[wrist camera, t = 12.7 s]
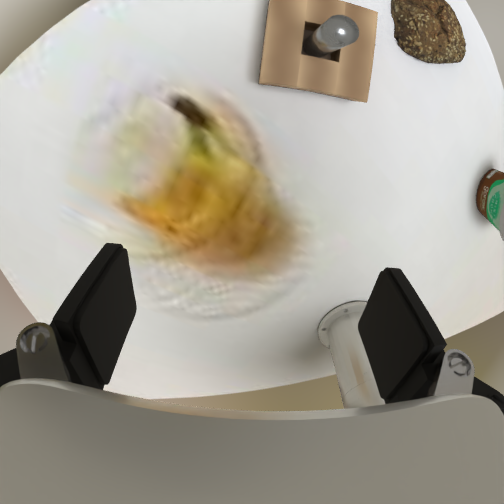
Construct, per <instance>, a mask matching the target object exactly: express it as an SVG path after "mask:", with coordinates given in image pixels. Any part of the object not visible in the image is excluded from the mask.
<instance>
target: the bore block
mask: <svg viewBox="0 0 504 504" xmlns="http://www.w3.org/2000/svg"><path fill="white" fill-rule="evenodd" d="M333 15H345V16H347V17H349V18H351V19H352V20H353V21H354V22H355V23H356V24H357V26H358V28H359V37H358V39H357V40H356V41H355V42H354V43H352V44H350V45H347V46H345V47H343V48H341V49H338V50H336V51H334V52H332V53H330V54H327V55H325V56H323V57H321V58H318V57H313V56H308V55H307V54H306V53H305V52H304V49H303V43H304V41H305V40H306V39H307V38H308V37H309V36H310V35H311V34H312V33H313V32H314V31H315V30H316V29H317V28H319V27H320V26H321V25H322V24H323V23H324V22H325V21H326V20H328V19H329V18H330V17H331V16H333ZM377 16H378V12H375V11H373V10H370V9H367V8H364V7H361V6H357V5H354V4H351V3H347V2H344V1H340V0H269V5H268V12H267V20H266V28H265V36H264V43H263V51H262V59H261V68H260V76H259V84H263V85H271V86H279V87H286V88H292V89H298V90H304V91H310V92H315V93H320V94H325V95H330V96H334V97H339V98H343V99H347V100H351V101H359V102H366V103H367V99H368V93H369V87H370V80H371V72H372V65H373V57H374V48H375V39H376V28H377Z"/></svg>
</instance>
